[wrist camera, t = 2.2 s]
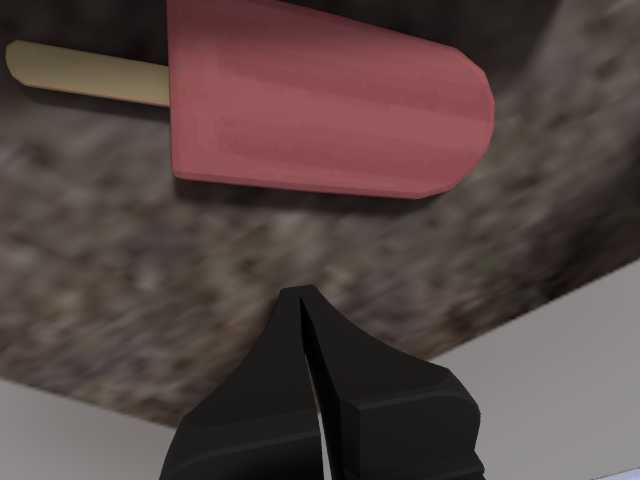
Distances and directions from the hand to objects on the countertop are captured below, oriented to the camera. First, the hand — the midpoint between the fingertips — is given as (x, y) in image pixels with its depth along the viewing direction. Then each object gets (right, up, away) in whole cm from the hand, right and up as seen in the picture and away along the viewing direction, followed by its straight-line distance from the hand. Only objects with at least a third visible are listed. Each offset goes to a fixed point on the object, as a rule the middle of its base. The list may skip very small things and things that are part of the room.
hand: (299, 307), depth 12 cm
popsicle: (-1, +7, -1) cm, 8 cm away
